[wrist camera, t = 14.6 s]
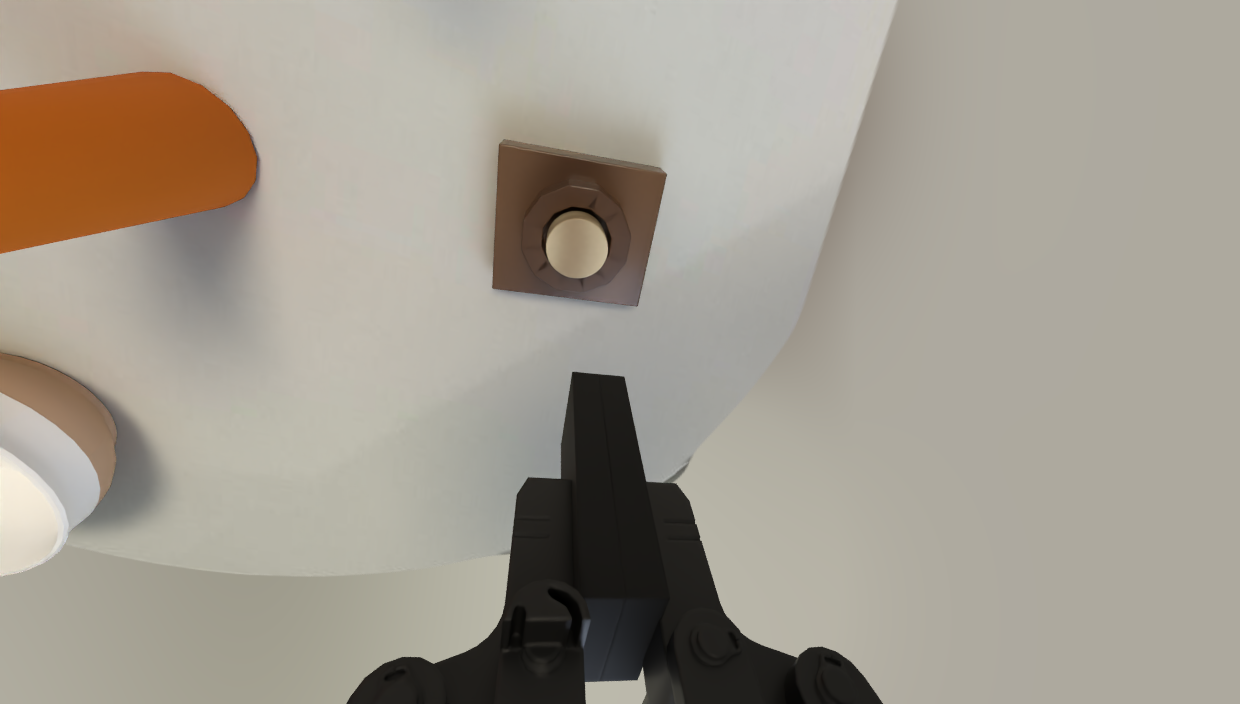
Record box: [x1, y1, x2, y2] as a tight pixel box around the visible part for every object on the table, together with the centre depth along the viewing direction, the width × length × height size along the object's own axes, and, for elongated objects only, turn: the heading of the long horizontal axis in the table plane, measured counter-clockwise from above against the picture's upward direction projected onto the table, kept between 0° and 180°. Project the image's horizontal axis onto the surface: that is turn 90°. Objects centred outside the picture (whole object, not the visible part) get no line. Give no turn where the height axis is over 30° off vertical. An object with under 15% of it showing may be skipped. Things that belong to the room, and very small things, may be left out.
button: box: [546, 211, 608, 278], centre depth 27 cm, size 4×4×2 cm
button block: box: [492, 139, 667, 306], centre depth 29 cm, size 10×9×4 cm
